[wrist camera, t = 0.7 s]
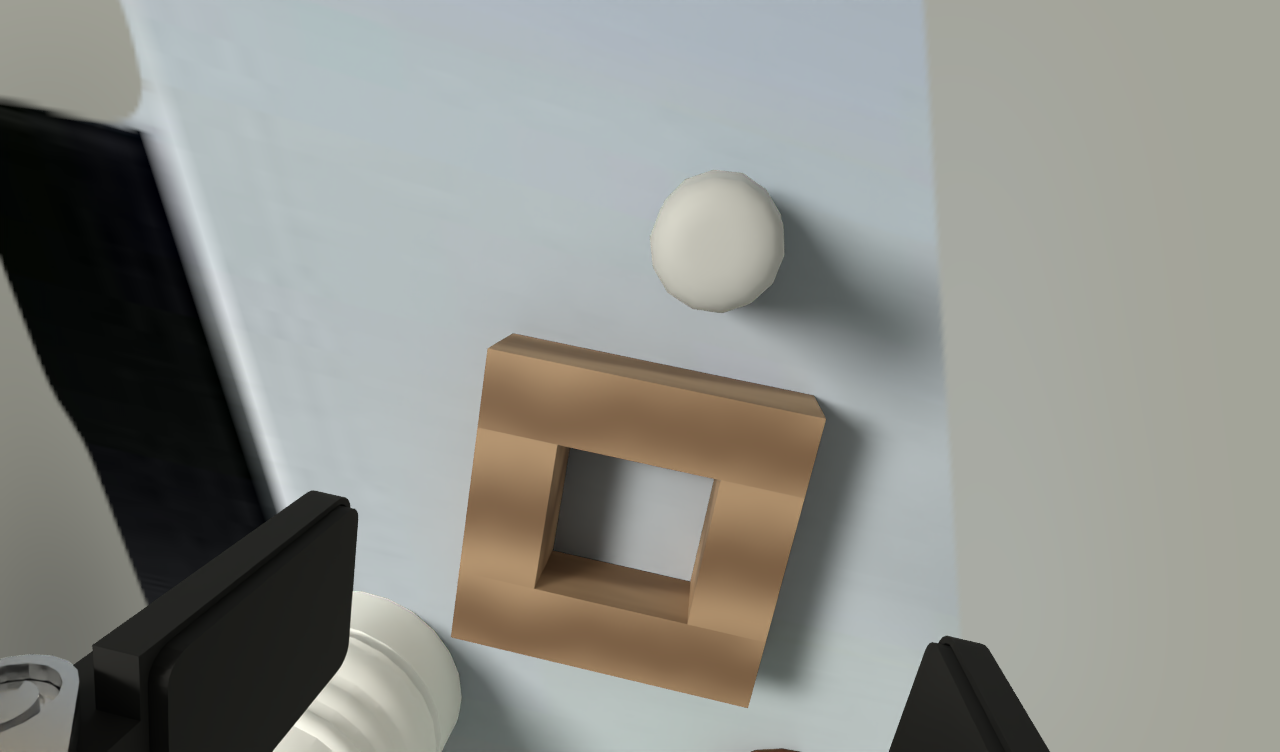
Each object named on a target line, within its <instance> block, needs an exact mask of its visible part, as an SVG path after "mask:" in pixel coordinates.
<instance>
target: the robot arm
mask: <svg viewBox="0 0 1280 752" xmlns="http://www.w3.org/2000/svg"><path fill="white" fill-rule="evenodd" d="M357 528H358V513H357V511H356V510H355V509H352V508H350V503H349V500H348V499H347V498H345V497H340V496H336V495H332V494H327V493H323V492H319V491H310V492H308V493H306V494H305V495H303V496H302V497H300V498H299V499H298V500H296V501H295V502H293V503H292V504H290V505H289V506H288V507H286V508H285V509H283V510H282V511H281V512H279V513H278V514H276V515H275V516H274V517H272V518H271V519H269V520H268V521H267V522H265V523H264V524H262V525H261V526H259V527H258V528H257V529H255V530H254V531H252V532H251V533H250V534H248V535H247V536H245V537H244V538H243V539H241V540H240V541H238V542H237V543H236V544H234V545H233V546H231V547H230V548H229V549H227V550H226V551H224V552H223V553H221V554H220V555H219V556H217V557H216V558H214V559H213V560H212V561H210V562H209V563H207V564H206V565H205V566H203V567H202V568H200V569H199V570H198V571H196V572H195V573H193V574H192V575H191V576H189V577H188V578H186V579H185V580H183V581H182V582H181V583H179V584H178V585H176V586H175V587H174V588H172V589H171V590H169V591H168V592H167V593H165V594H164V595H162V596H161V597H160V598H158V599H157V600H155V601H154V602H152V603H151V604H150V605H148V606H147V607H145V608H144V609H143V610H141V611H140V612H138V613H137V614H136V615H134V616H133V617H132V618H130V619H129V620H127V621H126V622H124V623H123V624H122V625H120V626H119V627H117V628H116V629H114V630H113V631H112V632H110V633H109V634H108V635H106V636H105V637H103V638H102V639H101V640H99V641H98V642H96V643H95V644H93V645H92V647H93V651H92V652H91V653H89V654H88V655H87V656H85V657H84V658H82V659H81V660H80V661H78V662H77V663H76V664H74V665H72V664H71V663H70V662H69V661H67V660H64V659H61V658H58V657H55V656H49V655H36V654H30V655H21V656H12V657H6V658H2V659H0V752H273V750H274V749H275V748H276V747H277V745H278V744H279V743H280V742H281V741H282V739H283V738H284V737H285V736H286V734H287V733H288V732H289V731H290V729H291V728H292V727H293V726H294V724H295V723H296V722H297V721H298V720H299V718H300V717H301V716H302V715H303V713H304V712H305V711H306V710H307V708H308V707H309V706H310V705H311V703H312V702H313V701H314V700H315V699H316V697H317V696H318V695H319V694H320V692H321V691H322V690H323V689H324V687H325V686H326V685H327V684H328V683H329V681H330V680H331V679H332V678H333V676H334V675H335V674H336V673H337V671H338V670H339V669H340V667H341V666H342V664H343V662H344V660H345V657H346V655H347V651H348V646H349V636H350V622H351V609H352V595H353V582H354V569H355V555H356V542H357ZM889 752H1050V751H1049V749H1048V748H1047V746H1046V744H1045V743H1044V741H1043V740H1042V738H1041V736H1040V734H1039V733H1038V731H1037V729H1036V728H1035V726H1034V724H1033V723H1032V721H1031V719H1030V718H1029V716H1028V714H1027V713H1026V711H1025V709H1024V708H1023V706H1022V704H1021V702H1020V701H1019V699H1018V697H1017V696H1016V694H1015V692H1014V691H1013V689H1012V687H1011V686H1010V684H1009V682H1008V681H1007V679H1006V678H1005V676H1004V674H1003V672H1002V671H1001V669H1000V668H999V666H998V664H997V662H996V661H995V659H994V657H993V656H992V654H991V652H990V651H989V649H988V648H987V647H986V646H985V645H983V644H980V643H976V642H972V641H967V640H963V639H958V638H954V637H950V636H945V637H943V638H942V639H941V640H940V641H939V643H933V642H932V643H930V644H929V645H928V646H927V648H926V650H925V653H924V655H923V658H922V661H921V664H920V666H919V669H918V672H917V675H916V678H915V680H914V683H913V686H912V689H911V691H910V694H909V697H908V700H907V703H906V705H905V708H904V711H903V714H902V716H901V719H900V722H899V725H898V728H897V730H896V733H895V736H894V739H893V741H892V744H891V747H890V750H889Z"/></svg>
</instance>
